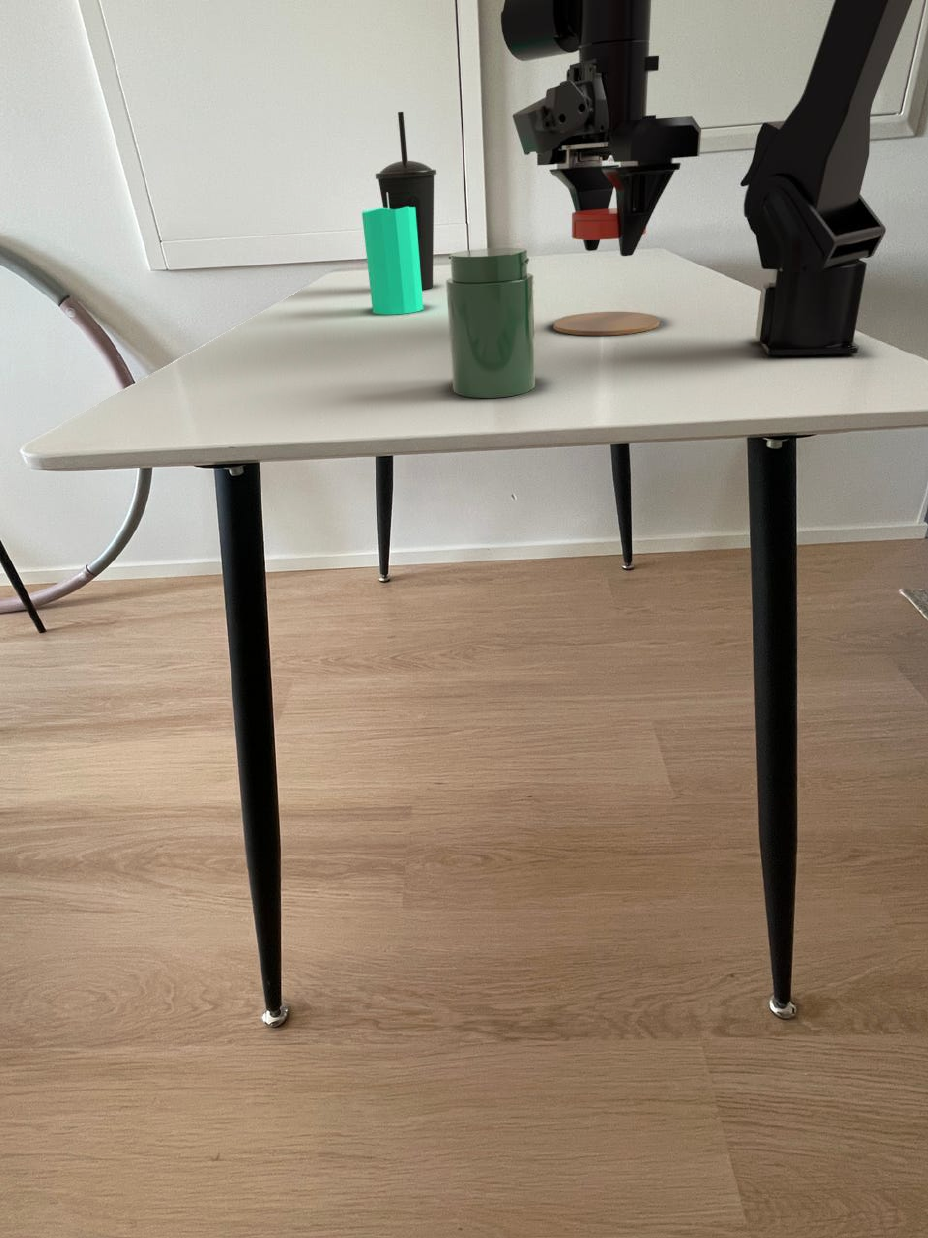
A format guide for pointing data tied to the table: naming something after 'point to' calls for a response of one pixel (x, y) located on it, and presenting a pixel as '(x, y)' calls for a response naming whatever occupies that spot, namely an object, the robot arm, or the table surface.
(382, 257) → the candle
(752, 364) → the table surface
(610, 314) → the coaster
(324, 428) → the table surface
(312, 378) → the table surface
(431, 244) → the drinking cup
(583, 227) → the jam lid
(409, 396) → the table surface
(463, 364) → the jam jar
